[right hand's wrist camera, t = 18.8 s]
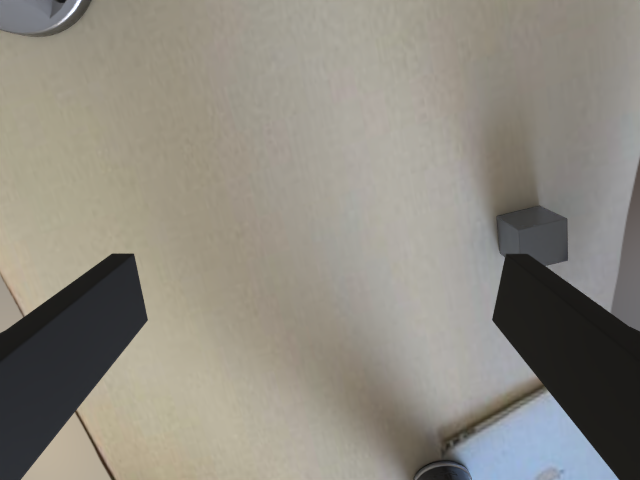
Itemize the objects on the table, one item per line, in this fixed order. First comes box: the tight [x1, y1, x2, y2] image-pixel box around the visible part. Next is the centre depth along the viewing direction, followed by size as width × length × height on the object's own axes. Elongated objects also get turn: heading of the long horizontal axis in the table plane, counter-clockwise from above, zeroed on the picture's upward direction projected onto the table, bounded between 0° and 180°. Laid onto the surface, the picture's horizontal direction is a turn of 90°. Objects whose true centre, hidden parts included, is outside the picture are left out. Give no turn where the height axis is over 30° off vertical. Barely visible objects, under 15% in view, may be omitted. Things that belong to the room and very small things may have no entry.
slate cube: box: [497, 206, 568, 266], centre depth 40 cm, size 5×5×5 cm
